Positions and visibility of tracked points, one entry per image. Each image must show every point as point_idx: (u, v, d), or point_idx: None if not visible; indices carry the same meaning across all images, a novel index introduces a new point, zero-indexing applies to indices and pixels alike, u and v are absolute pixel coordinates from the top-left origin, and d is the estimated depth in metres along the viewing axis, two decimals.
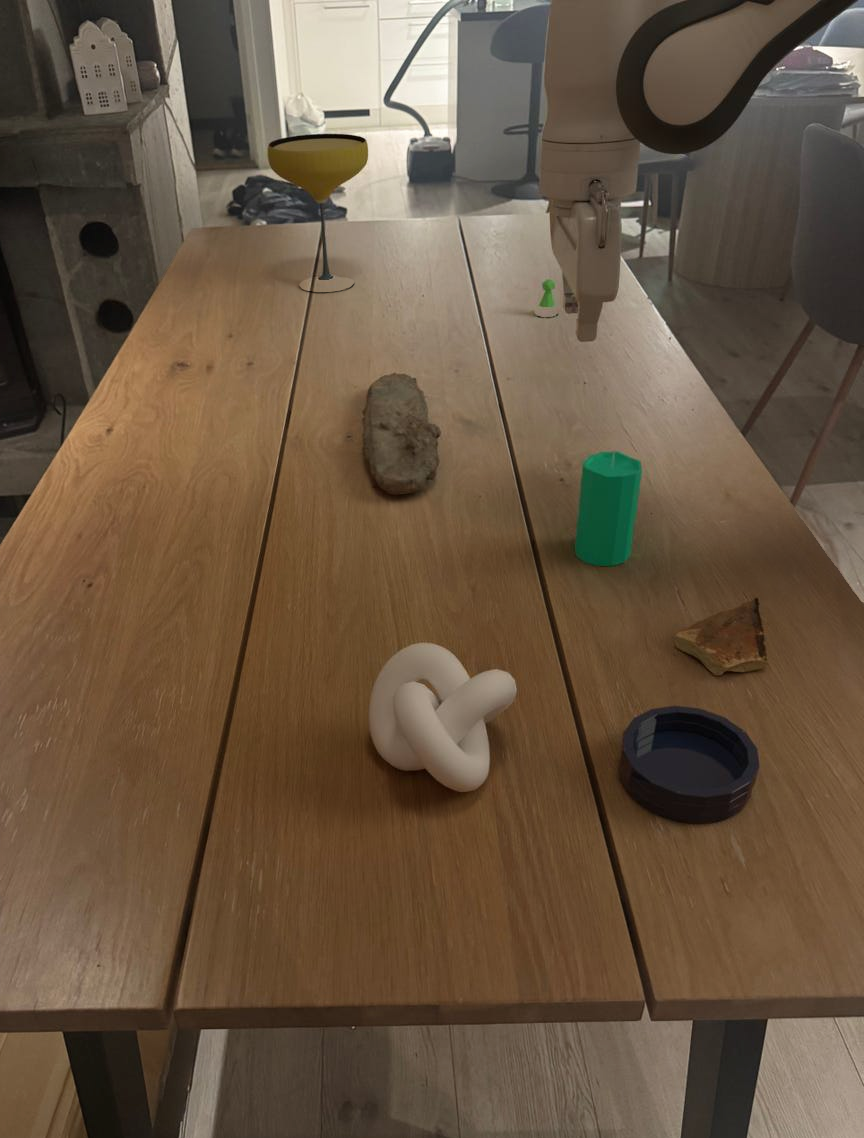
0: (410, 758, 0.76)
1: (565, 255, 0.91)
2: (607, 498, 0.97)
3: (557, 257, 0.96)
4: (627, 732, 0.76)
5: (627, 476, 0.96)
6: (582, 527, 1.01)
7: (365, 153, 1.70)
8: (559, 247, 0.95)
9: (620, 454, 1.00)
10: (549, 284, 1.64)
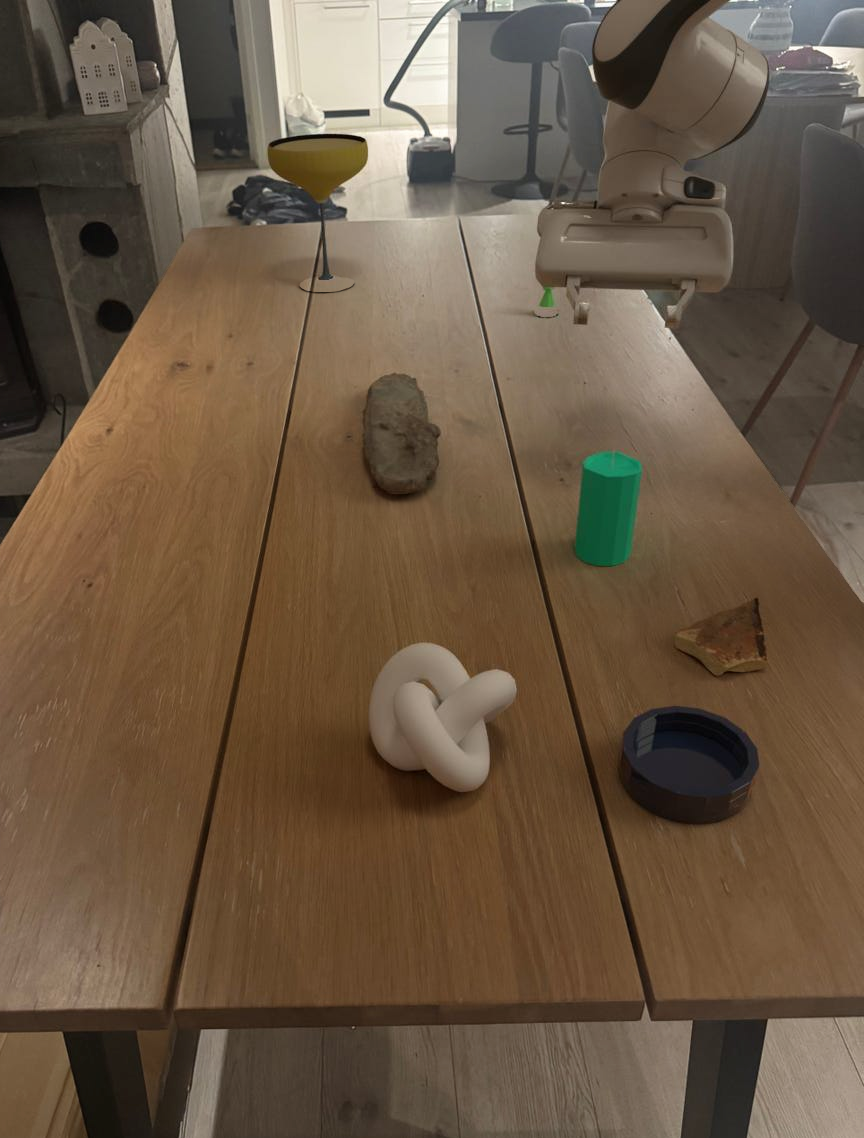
0: (410, 757, 0.76)
1: None
2: (606, 498, 0.97)
3: None
4: (627, 732, 0.76)
5: (627, 476, 0.96)
6: (582, 527, 1.01)
7: (365, 153, 1.70)
8: None
9: (620, 454, 1.00)
10: None
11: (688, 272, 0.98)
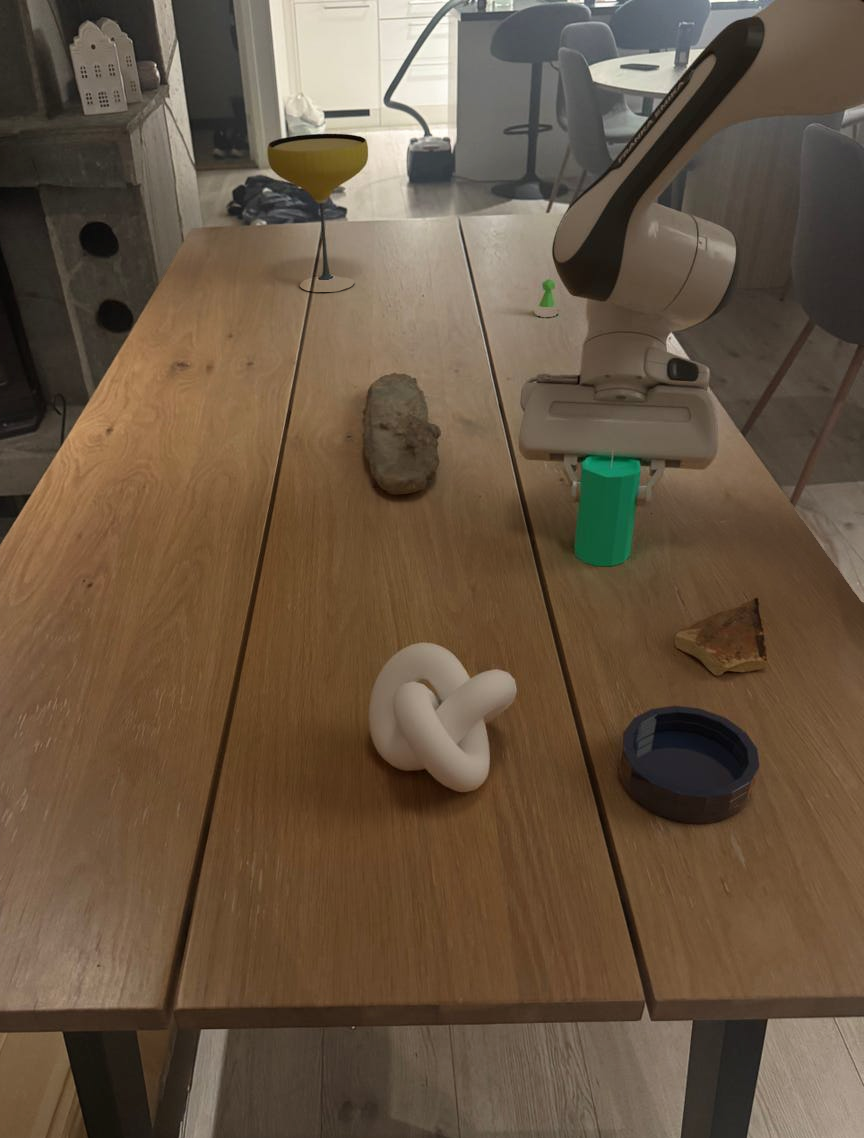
0: (410, 757, 0.76)
1: None
2: (605, 498, 0.97)
3: None
4: (627, 732, 0.76)
5: (625, 477, 0.96)
6: (582, 527, 1.01)
7: (365, 153, 1.70)
8: None
9: None
10: (549, 284, 1.64)
11: (672, 454, 0.98)
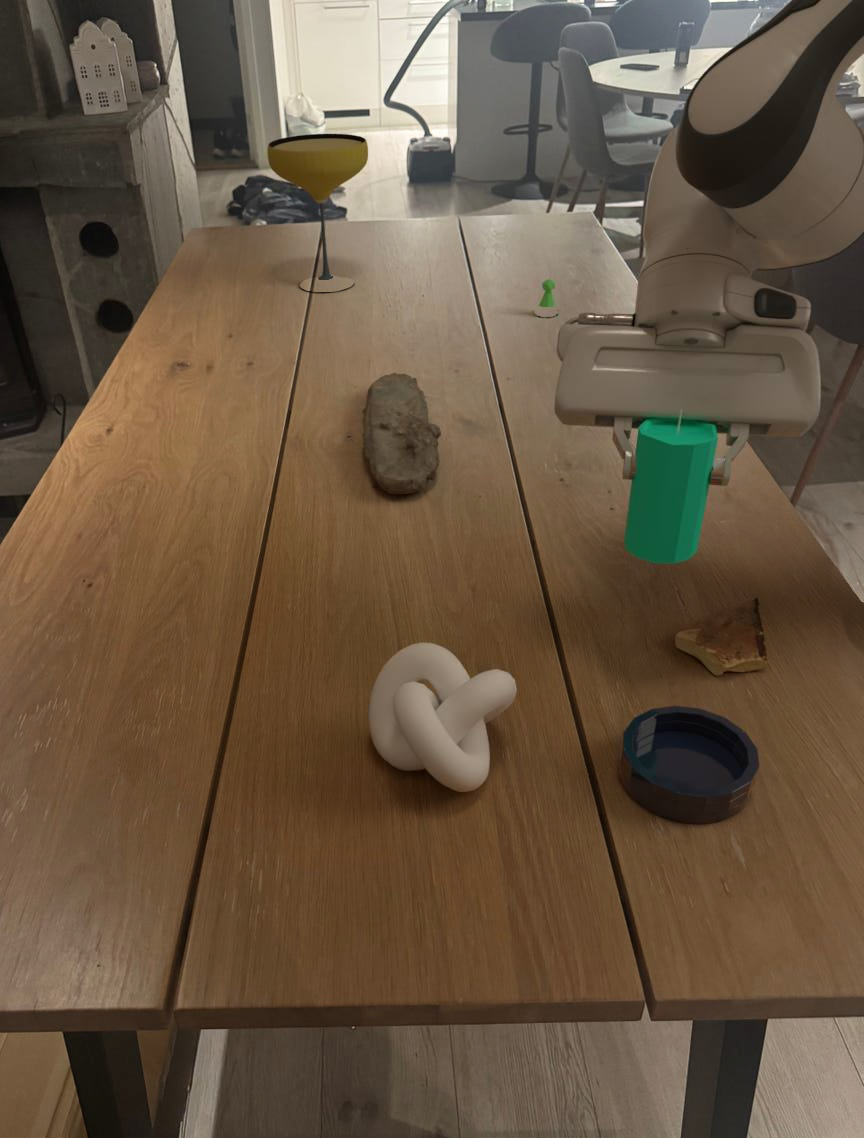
0: (410, 757, 0.76)
1: None
2: (671, 474, 0.73)
3: None
4: (627, 732, 0.76)
5: (699, 445, 0.72)
6: (636, 512, 0.77)
7: (365, 153, 1.70)
8: None
9: None
10: (549, 284, 1.64)
11: (760, 416, 0.74)
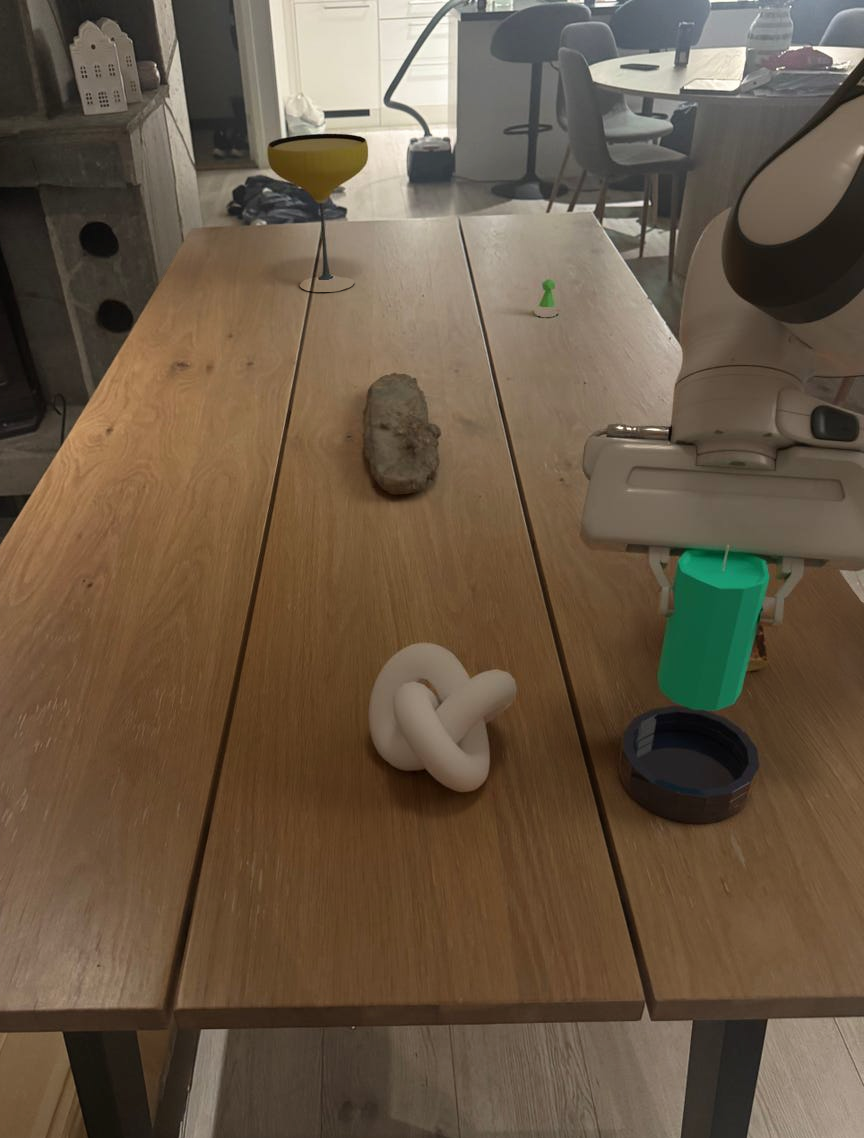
0: (410, 758, 0.76)
1: None
2: (716, 619, 0.64)
3: None
4: (627, 732, 0.76)
5: (749, 588, 0.63)
6: (673, 654, 0.68)
7: (365, 153, 1.70)
8: None
9: None
10: (549, 284, 1.64)
11: (817, 551, 0.65)
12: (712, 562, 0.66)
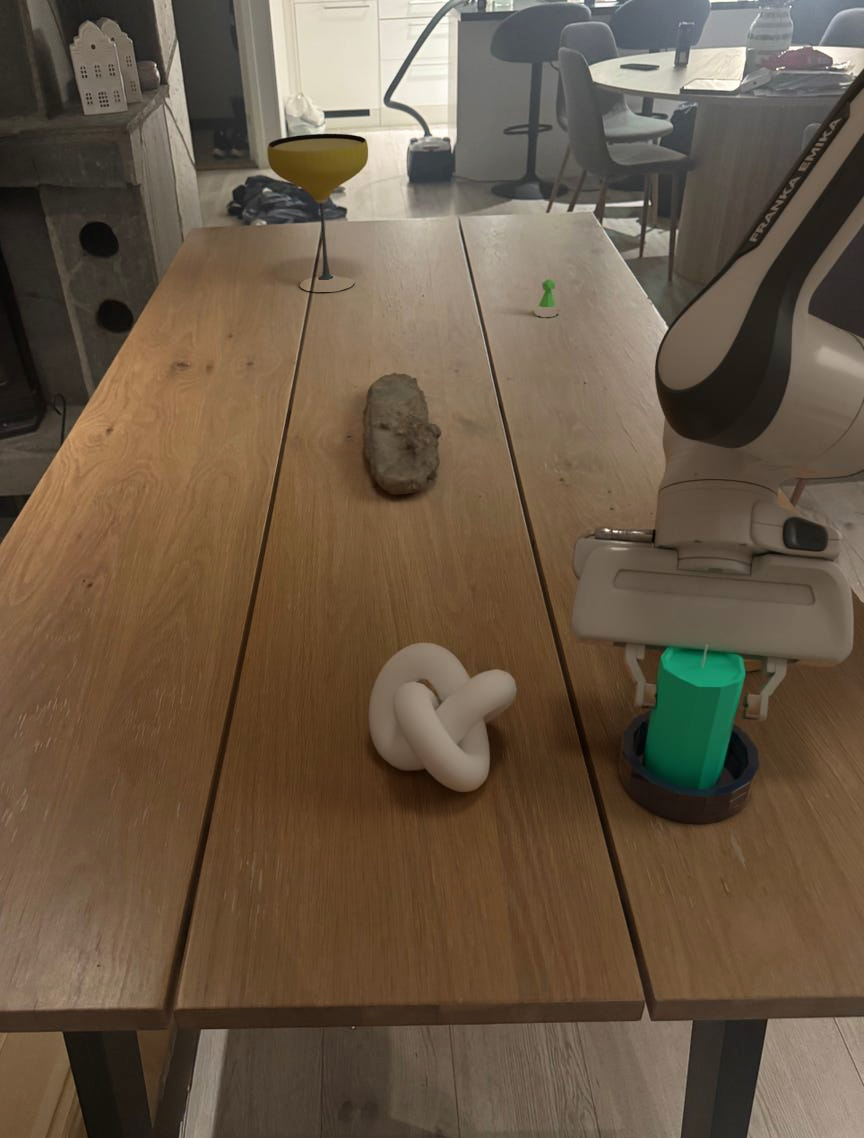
0: (410, 758, 0.76)
1: None
2: (696, 713, 0.69)
3: None
4: (627, 732, 0.76)
5: (726, 686, 0.68)
6: (657, 741, 0.73)
7: (365, 153, 1.70)
8: None
9: None
10: (549, 284, 1.64)
11: (789, 652, 0.70)
12: (693, 658, 0.71)
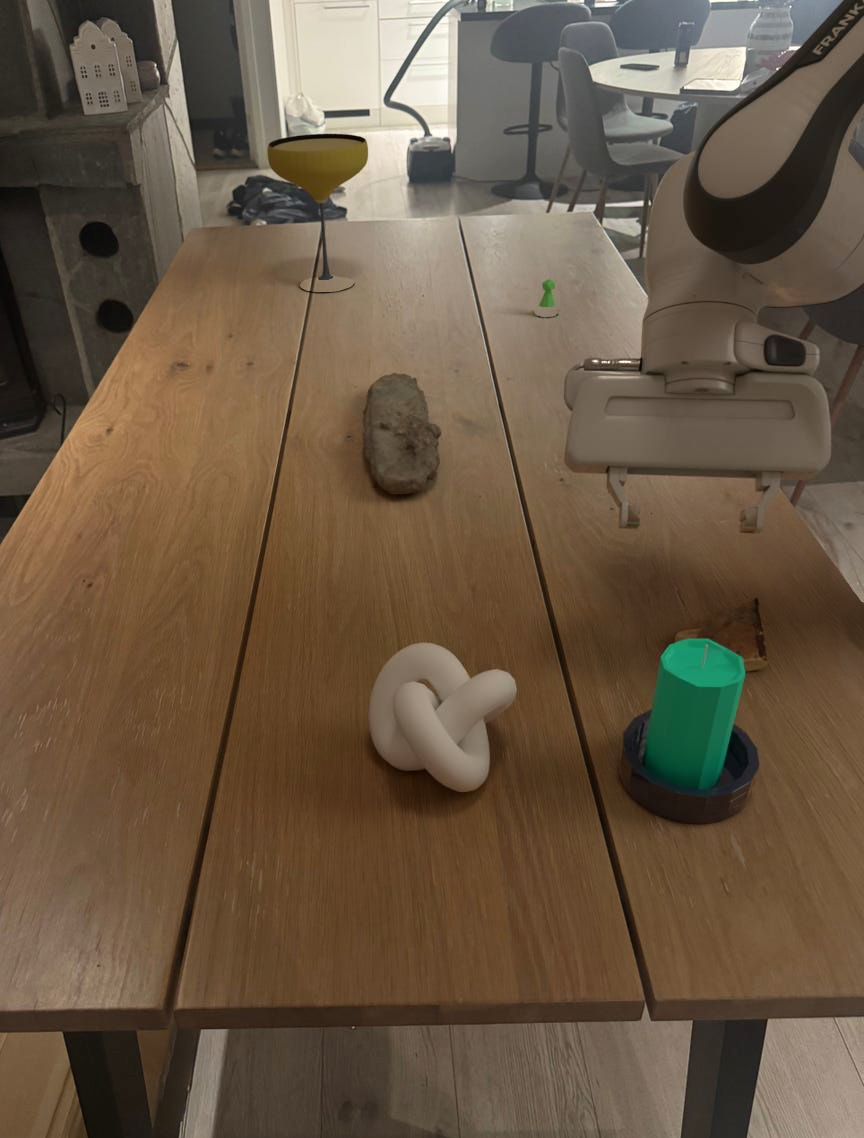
0: (410, 758, 0.76)
1: None
2: (696, 713, 0.69)
3: None
4: (627, 732, 0.76)
5: (726, 686, 0.68)
6: (657, 741, 0.73)
7: (365, 153, 1.70)
8: None
9: (712, 643, 0.72)
10: (549, 284, 1.64)
11: (772, 464, 0.74)
12: (693, 658, 0.71)
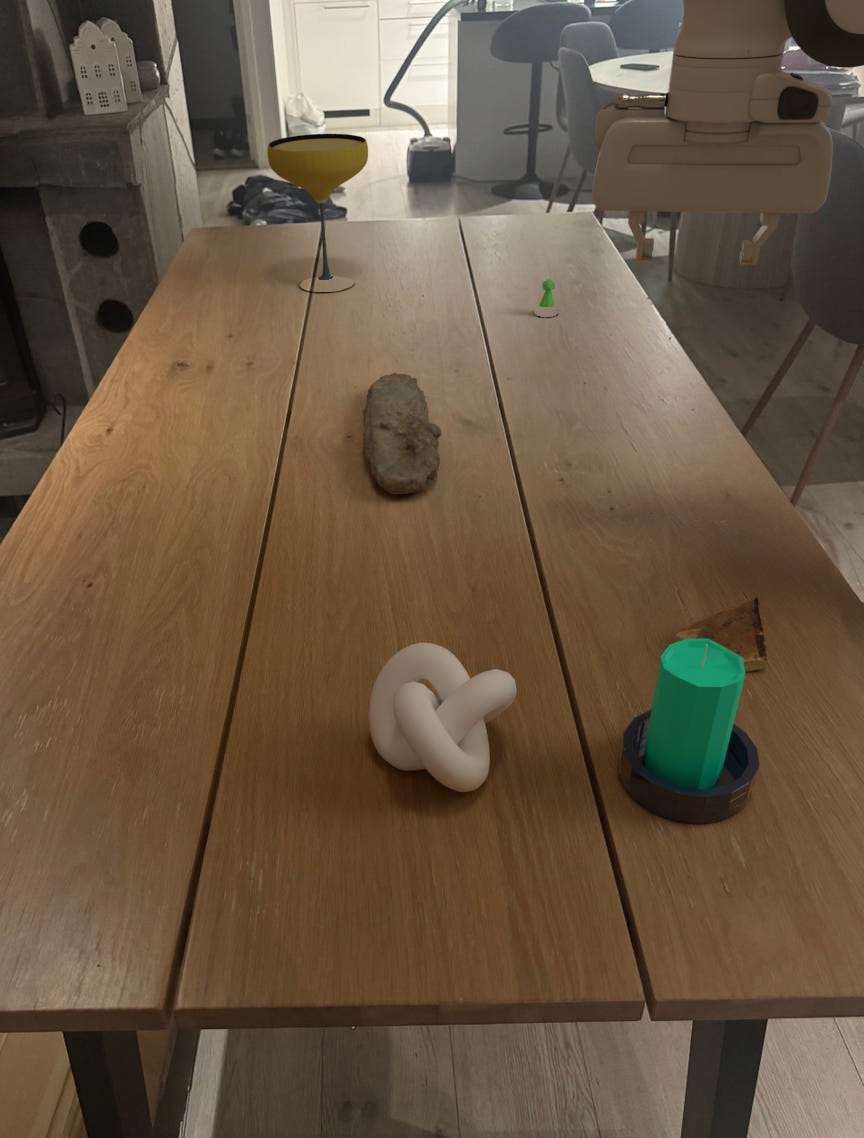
0: (410, 758, 0.76)
1: None
2: (696, 713, 0.69)
3: None
4: (627, 732, 0.76)
5: (726, 686, 0.68)
6: (657, 741, 0.73)
7: (365, 153, 1.70)
8: None
9: (712, 643, 0.72)
10: (549, 284, 1.64)
11: (772, 209, 0.84)
12: (693, 658, 0.71)
